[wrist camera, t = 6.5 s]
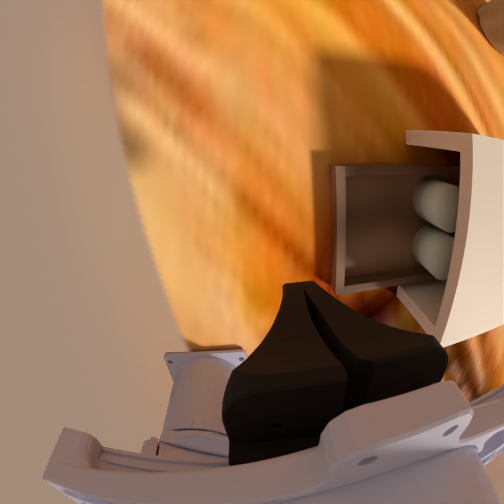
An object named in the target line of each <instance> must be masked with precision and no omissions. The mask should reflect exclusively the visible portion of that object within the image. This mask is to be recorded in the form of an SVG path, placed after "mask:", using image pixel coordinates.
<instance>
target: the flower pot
mask: <svg viewBox="0 0 504 504" xmlns="http://www.w3.org/2000/svg"><path fill="white" fill-rule="evenodd" d="M477 14H478V15H479V19H480V26H481V28H482V31H483V33H484V34H485V36H486V38H487V39H488V41H489V42H490V44H491V45H492V46H493V47H494V48H495V49H496V50H497V51H499V52H500V53H502V54H503V55H504V0H492V1H490V2H488V3H486V4H484V5H483V6H481V7H479V9H478V12H477Z"/></svg>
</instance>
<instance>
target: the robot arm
mask: <svg viewBox="0 0 504 504" xmlns="http://www.w3.org/2000/svg"><path fill="white" fill-rule="evenodd" d="M282 287H283V298H282V302H281V305H280V309H279V311H278V314H277V316H276V319H275V321H274V323H273V325H272V327H271V329H270V330H269V332H268V334H267V335H266V337H265V338H264V340H263V341H262V342H261V344H260V345H259V346H258V347H257V348H256V349H255V350H254V352H253V353H252V354H251V355H250V356H249V357H248V358H247V355H246V351H245V350H243V349H235V350H220V351H199V352H167V353H165V356H164V358H165V361H166V363H167V366H168V369H169V371H170V374H171V376H172V378H173V381H174V384H173V388H172V392H171V397H170V401H169V405H168V409H167V414H166V418H165V422H164V427H163V431H162V434H161V437H160V440H159V442H158V439H157V438H154V437H151V438H150V440H146V441H144V443H143V446H142V450H141V453H135V452H128V451H123V450H118V449H113V448H108V447H103V446H102V445H101V444H100V442H99V441H98V440H97V439H96V438H95V437H94V436H92V435H90V434H88V433H86V432H82V431H78V430H74V429H70V428H65V427H64V428H63V430H62V432H61V434H60V436H59V439H58V441H57V443H56V445H55V448H54V450H53V452H52V455H51V457H50V459H49V462H48V465H47V467H46V469H45V472H44V475H43V479H44V480H45V481H46V482H48V483H49V484H50V485H52V486H53V487H55V488H56V489H57V490H59V491H60V492H61V493H63V494H64V495H66V496H67V497H69V498H70V499H72V500H73V501H75V502H76V503H78V504H501V502H500V500H499V498H498V495H497V493H496V491H495V488H494V486H493V484H492V482H491V480H490V477H489V475H488V473H487V471H486V469H485V467H484V465H485V464H487V463H488V462H490V461H491V460H492V459H494V458H495V457H496V456H498V455H499V454H500V453H502V452H503V451H504V384H503V385H501V386H499V387H498V388H496V389H494V390H492V391H491V392H489V393H487V394H485V395H483V396H481V397H479V398H478V399H476V400H474V401H472V402H470V403H468V401H467V400H466V398H465V396H464V395H463V393H462V392H461V390H460V389H459V387H458V386H457V385H456V384H455V383H454V382H453V381H444V382H441V380H442V377H443V375H444V373H445V371H446V368H447V364H448V355H447V352H446V351H445V349H444V348H443V347H442V345H441V344H440V343H439V342H438V340H437V339H436V338H435V337H434V336H433V335H428V334H421V333H415V332H410V331H405V330H402V329H398V328H394V327H391V326H388V325H385V324H382V323H380V322H377V321H375V320H372V319H370V318H368V317H366V316H364V315H362V314H360V313H358V312H356V311H354V310H353V309H351V308H349V307H348V306H346V305H345V304H343V303H342V302H340V301H339V300H337V299H336V298H334V297H333V296H332V295H330V294H329V293H328V292H326V291H325V290H324V289H323V288H321V287H320V286H319V285H318V284H316V283H315V282H314V281H305V282H296V283H286V284H284V285H283V286H282ZM240 357H243V358H240ZM170 360H171V361H170Z"/></svg>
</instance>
